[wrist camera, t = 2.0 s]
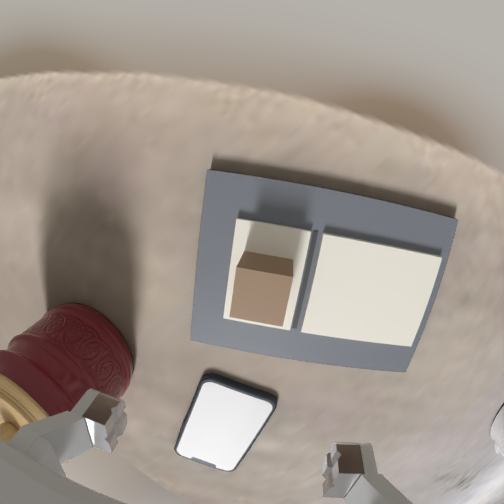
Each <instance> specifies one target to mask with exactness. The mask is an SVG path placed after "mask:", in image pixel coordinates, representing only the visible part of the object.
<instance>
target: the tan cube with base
mask: <svg viewBox="0 0 504 504" xmlns="http://www.w3.org/2000/svg"><path fill="white" fill-rule="evenodd" d="M310 235H311V230H305V229H300V228H294V227H289V226H283V225H277V224H272V223H266V222H260V221H254V220H248V219H242V218H237V219H236V225H235V232H234V239H233V247H232V254H231V262H230V269H229V277H228V284H227V292H226V300H225V308H224V316H223V318H225V319H230V320H235V321H240V322H245V323H251V324H256V325H261V326H267V327H273V328H278V329H284V330H290V328H291V324H292V319H293V315H294V311H295V306H296V302H297V297H298V293H299V288H300V284H301V279H302V274H303V270H304V265H305V260H306V255H307V250H308V245H309V240H310Z"/></svg>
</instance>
